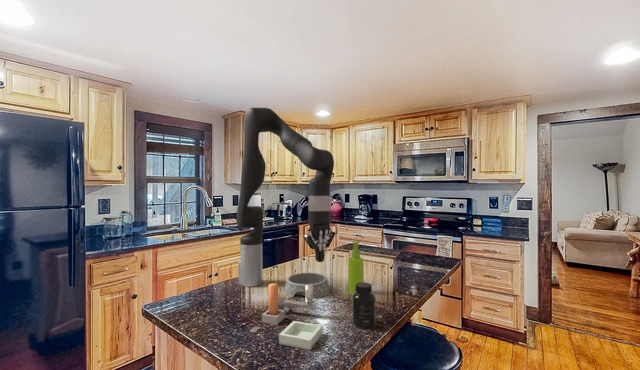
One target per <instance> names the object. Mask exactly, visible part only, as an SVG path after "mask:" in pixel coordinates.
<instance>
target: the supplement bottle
mask: <svg viewBox="0 0 640 370" xmlns="http://www.w3.org/2000/svg"><path fill="white" fill-rule="evenodd" d="M372 292H373V287H372V284H371V283H370V282H360V283H357V284H356V292H355V293H354V294H353V295H352V324H353V325H354V326H355V327H356V328H359V329H363V330H365V329H372V328H373V327H375V325H376V297H375V294H374V293H372Z"/></svg>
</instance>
